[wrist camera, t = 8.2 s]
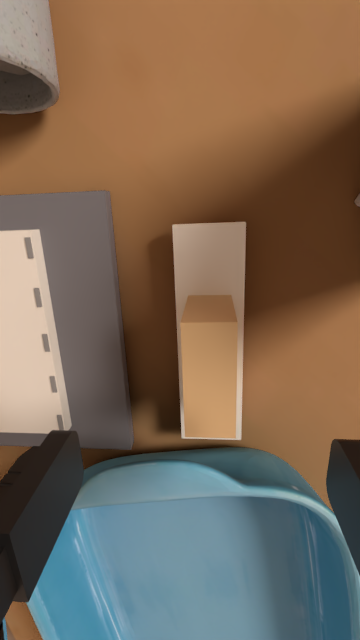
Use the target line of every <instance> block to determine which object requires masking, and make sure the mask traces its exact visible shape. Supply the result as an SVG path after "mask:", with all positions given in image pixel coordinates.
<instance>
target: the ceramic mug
mask: <svg viewBox="0 0 360 640" xmlns="http://www.w3.org/2000/svg"><path fill="white" fill-rule="evenodd" d="M59 92H60V88H59V81H58V74H57V66H56V57H55V48H54V39H53V31H52V24H51V16H50V9H49V1H48V0H0V113H5V114H23V113H33V112H36V111H42V110H45V109H47V108H48V107H51V106H53V105H54V104H55V103H56V102H57V100H58V98H59Z"/></svg>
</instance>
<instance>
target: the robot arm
mask: <svg viewBox="0 0 360 640" xmlns="http://www.w3.org/2000/svg"><path fill="white" fill-rule="evenodd" d="M83 475H84V468H83V461H82V455H81V449H80V443H79V437H78V433H77V432H76V431H70V430H52V431H51V432H50V433H49V434H48V435H47V437H46V438H45V439H44V441H43V442H42V444H41V445H40V446H33V447H32V448H30V449H29V450H28V451H27V452H25V453H24V454H23V455H21V456H20V457H19V458H18V459H17V460H16V462H15V463H14V464H13V466H12V467H11V468H10V470H9V471H8V474H6V475H5V476H4V477H3V479H2V480H1V481H0V640H7V631H6V622H5V618H4V617H5V615H6V613H7V611H8V609H9V607H10V605H11V603H12V601H16V602H29V600H30V598H31V596H32V594H33V591H34V589H35V587H36V585H37V583H38V580H39V578H40V576H41V574H42V572H43V570H44V567H45V565H46V563H47V561H48V559H49V556H50V554H51V552H52V550H53V548H54V545H55V543H56V541H57V539H58V537H59V535H60V532H61V530H62V528H63V526H64V524H65V521H66V519H67V517H68V515H69V513H70V511H71V508H72V506H73V504H74V502H75V500H76V497H77V495H78V493H79V491H80V488H81V486H82V482H83ZM326 486H327V493H328V498H329V501H330V504H331V506H332V509H333V511H334V514H335V516H336V518H337V521H338V523H339V526H340V528H341V531H342V533H343V536H344V538H345V541H346V543H347V546H348V548H349V551H350V553H351V556H352V558H353V561H354V563H355V565H356V568H357V570H358V573H359V575H360V440H346V439H334V440H333V441H332V444H331V451H330V457H329V464H328V471H327V478H326Z"/></svg>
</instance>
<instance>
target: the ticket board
mask: <svg viewBox="0 0 360 640" xmlns="http://www.w3.org/2000/svg"><path fill="white" fill-rule="evenodd" d="M52 430H70V431H76V432H77V433H78V437H79V443H80V448H94V449H125V450H131V448H132V446H133V443H134V435H133V424H132V414H131V404H130V394H129V383H128V373H127V363H126V353H125V343H124V332H123V322H122V312H121V302H120V292H119V281H118V271H117V261H116V251H115V241H114V230H113V220H112V210H111V200H110V192H109V191H85V192H65V193H45V194H24V195H4V196H0V445H1V446H32V447H33V446H40V445H41V444H42V442H43V441H44V439H45V438H46V437H47V435H48V434H49V433H50V432H51V431H52Z"/></svg>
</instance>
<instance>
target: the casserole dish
mask: <svg viewBox="0 0 360 640" xmlns="http://www.w3.org/2000/svg"><path fill="white" fill-rule="evenodd" d="M26 604H27V606H28V608H29V610H30V613H31V615H32V617H33V619H34V622H35V624H36V626H37V628H38V630H39V632H40V634H41V636H42V638H43V640H360V575H359V573H358V570H357V568H356V565H355V563H354V561H353V558H352V556H351V553H350V551H349V548H348V546H347V543H346V541H345V538H344V536H343V533H342V531H341V528H340V526H339V523H338V521H337V518H336V516H335V514H334V513H333V512H332V511H331V510H330V509H329V508H328V507H327V506H326V504H325V503H324V502H323V501H322V500H321V498H320V497H319V496H318V495H317V493H316V492H315V491H314V490H313V488H312V487H311V486H310V485H309V484H308V483H307V482H306V480H305V479H304V478H303V477H302V476H301V475H300V474H299V473H298V472H297V471H296V470H295V469H294V468H293V467H291V466H290V465H289V464H288V463H286V462H285V461H283V460H282V459H281V458H279V457H277V456H275V455H273V454H271V453H268V452H265V451H262V450H258V449H252V448H243V447H229V448H210V449H195V450H181V451H170V452H158V453H147V454H139V455H131V456H125V457H119V458H114V459H110V460H106V461H103V462H100V463H97V464H95V465H93V466H91V467H88V468H87V469H85V470H84V475H83V482H82V486H81V488H80V491H79V493H78V495H77V497H76V500H75V502H74V504H73V506H72V508H71V511H70V513H69V515H68V517H67V519H66V521H65V524H64V526H63V528H62V530H61V532H60V535H59V537H58V539H57V541H56V543H55V545H54V548H53V550H52V552H51V554H50V556H49V559H48V561H47V563H46V565H45V567H44V570H43V572H42V574H41V576H40V578H39V580H38V583H37V585H36V587H35V589H34V591H33V594H32V596H31V598H30V600H29V602H26Z"/></svg>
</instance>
